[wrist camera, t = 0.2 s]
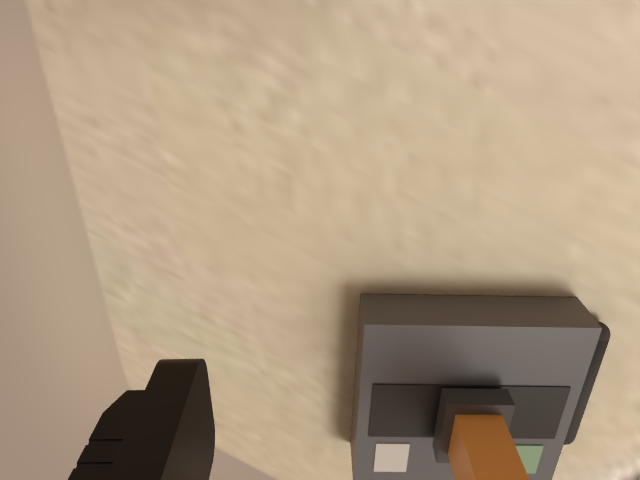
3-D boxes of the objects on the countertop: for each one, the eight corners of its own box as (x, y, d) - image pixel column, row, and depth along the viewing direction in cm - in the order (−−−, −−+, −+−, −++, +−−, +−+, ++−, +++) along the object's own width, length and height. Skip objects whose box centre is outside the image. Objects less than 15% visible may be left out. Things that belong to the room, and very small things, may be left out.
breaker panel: (360, 293, 29) (364, 325, 26) (577, 297, 29) (603, 329, 27) (350, 443, 35) (353, 482, 32) (533, 445, 35) (551, 484, 32)
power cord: (581, 316, 30) (593, 330, 29) (605, 316, 30) (618, 331, 29) (546, 431, 34) (554, 449, 33) (567, 432, 34) (576, 449, 33)
